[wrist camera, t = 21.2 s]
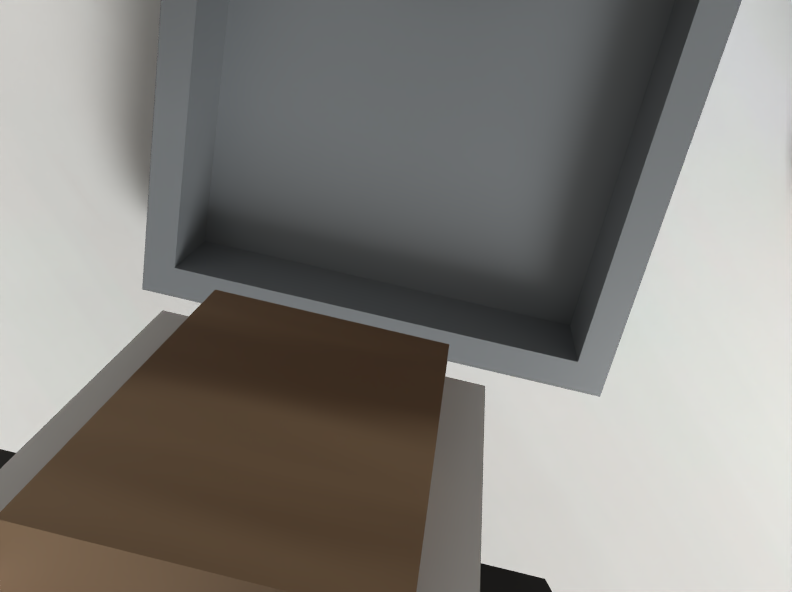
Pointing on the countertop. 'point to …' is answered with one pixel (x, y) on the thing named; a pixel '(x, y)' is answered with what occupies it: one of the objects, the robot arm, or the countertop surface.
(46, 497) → the walnut block
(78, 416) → the robot arm
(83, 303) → the countertop surface
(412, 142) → the tray
